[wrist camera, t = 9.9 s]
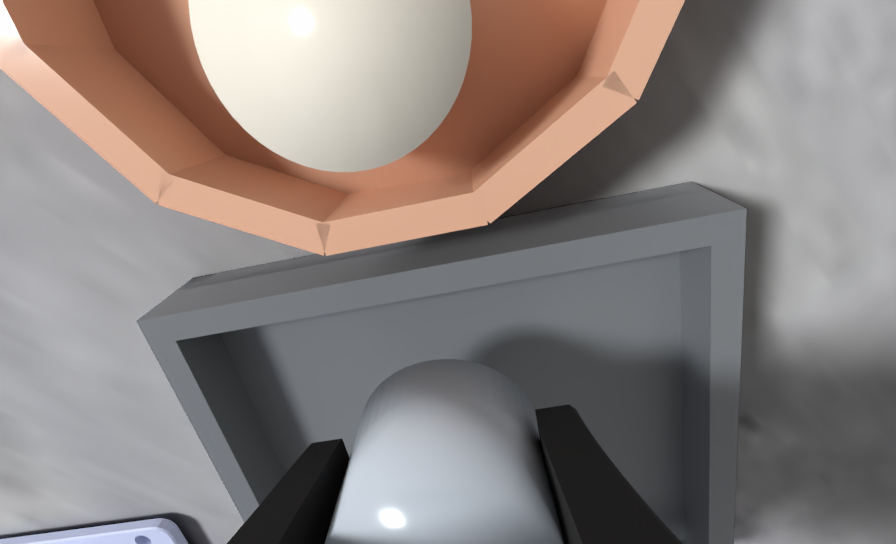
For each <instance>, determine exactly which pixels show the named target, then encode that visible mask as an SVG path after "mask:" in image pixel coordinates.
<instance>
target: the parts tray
mask: <svg viewBox="0 0 896 544" xmlns="http://www.w3.org/2000/svg"><path fill="white" fill-rule="evenodd" d="M746 216H747V208H745V207H743V206H741V205H739V204H737V203H735V202H732V201H730V200H728V199H726V198H724V197H722V196H720V195H718V194H716V193H714V192H712V191H710V190H708V189H706V188H704V187H701V186H699V185H697V184H695V183H693V182H687V183H681V184H676V185H671V186H666V187H661V188H656V189H650V190H645V191H640V192H635V193H630V194H624V195H619V196H614V197H609V198H604V199H599V200H593V201H588V202H583V203H578V204H573V205H567V206H562V207H557V208H552V209H547V210H542V211H536V212H531V213H526V214H521V215H516V216H510V217H505V218H500V219H495V220H494V221H493V222H492V223H491V224H490V223H489V222H488V221H487V222H488V225H485V226H479V227H474V228H469V229H464V230H458V231H453V232H448V233H443V234H438V235H432V236H427V237H422V238H417V239H412V240H406V241H401V242H396V243H391V244H386V245H380V246H375V247H370V248H365V249H360V250H354V251H349V252H344V253H339V254H334V255H328V256H326V254H324V256H323V255H319V254H314V255H308V256H303V257H298V258H293V259H288V260H282V261H277V262H272V263H267V264H262V265H257V266H251V267H246V268H241V269H236V270H231V271H225V272H220V273H215V274H210V275H205V276H200V277H194V278H192V279H191V280H190V281H188V282H187V283H186V284H184V285H183V286H182V287H181V288H179V289H178V290H177V291H175V292H174V293H173V294H171V295H170V296H169V297H167V298H166V299H165V300H163V301H162V302H161V303H160V304H158V305H157V306H156V307H154V308H153V309H152V310H150V311H149V312H148V313H146V314H145V315H144V316H142V317H141V318H140V319H139V320H137V323H138V325H139V327H140V329H141V330H142V332H143V334H144V336H145V338H146V340H147V342H148V344H149V345H150V347H151V349H152V351H153V353H154V355H155V357H156V358H157V360H158V362H159V364H160V366H161V368H162V370H163V371H164V373H165V375H166V377H167V379H168V381H169V383H170V384H171V386H172V388H173V390H174V392H175V394H176V396H177V398H178V399H179V401H180V403H181V405H182V407H183V409H184V411H185V412H186V414H187V416H188V418H189V420H190V422H191V424H192V425H193V427H194V429H195V431H196V433H197V435H198V437H199V439H200V440H201V442H202V444H203V446H204V448H205V450H206V452H207V453H208V455H209V457H210V459H211V461H212V463H213V465H214V466H215V468H216V470H217V472H218V474H219V476H220V478H221V480H222V481H223V483H224V485H225V487H226V489H227V491H228V493H229V494H230V496H231V498H232V500H233V502H234V504H235V506H236V507H237V509H238V511H239V513H240V515H241V517H242V519H243V521H244V522H246V521H247V519H248V518H249V517H250V516H251V515H252V514H253V512H254V511H255V510H256V509H257V508H258V506H259V505H260V504H261V503H262V502H263V500H264V499H265V498H266V497H267V496H268V494H269V493H270V492H271V491H272V490H273V488H274V487H275V486H276V485H277V483H278V482H279V481H280V480H281V479H282V477H283V476H284V475H285V474H286V473H287V471H288V470H289V469H290V468H291V466H292V465H293V464H294V463H295V462H296V461H297V459H298V458H299V457H300V456H301V455H302V453H303V452H304V451H305V450H306V449H307V448H308V447H309V445H310V444H311V443H315V442H322V441H328V440H335V439H343V442H344V444H345V447H346V450H347V452H348V455H349V458H350V455H351V451H352V448H353V444H354V441H355V438H356V434H357V431H358V427H359V424H360V420H361V417H362V413H363V410H364V408H365V405H366V403H367V401H368V399H369V397H370V396H371V394H372V393H373V392H374V390H375V389H376V388H377V387H378V386H379V385H380V384H381V383H382V382H383V381H384V380H385V379H386V378H388V377H389V376H391V375H392V374H394V373H395V372H397V371H399V370H401V369H403V368H405V367H408V366H411V365H413V364H416V363H420V362H424V361H429V360H438V359H457V360H466V361H471V362H475V363H479V364H482V365H485V366H487V367H490V368H492V369H494V370H496V371H498V372H500V373H502V374H503V375H505V376H506V377H508V378H509V379H511V380H512V381H513V382H514V383H515V384H516V385H518V386H519V387H520V389H521V390H522V391H523V392H524V393H525V394H526V396H527V397H528V399H529V401H530V402H531V404H532V406H533V409H534V411H535V409H542V408H548V407H555V406H562V405H568V404H569V405H571V406H572V407H574V408H575V409H576V410H577V412H578V414H579V415H580V417H581V419H582V420H583V422H584V423H585V425H586V426H587V428H588V429H589V431H590V432H591V434H592V435H593V437H594V438H595V439H596V441H597V442H598V444H599V445H600V446H601V448H602V449H603V450H604V452H605V453H606V454H607V456H608V457H609V458H610V460H611V461H612V462H613V464H614V465H615V466H616V467H617V469H618V470H619V471H620V472H621V474H622V475H623V476H624V477H625V478H626V480H627V481H628V482H629V483H630V484H631V486H632V487H633V488H634V489H635V490H636V492H637V493H638V494H639V495H640V496H641V498H642V499H643V500H644V501H645V502H646V503H647V505H648V506H649V507H650V508H651V509H652V510H653V512H654V513H655V514H656V515H657V516H658V517H659V518H660V519H661V521H662V522H663V523H664V524H665V525H666V526H667V527H668V528H669V529H670V530H671V532H672V533H673V534H674V535H675V536H676V537H677V538H678V539H679V540H680V541H681V542H682V543H683V544H734V525H735V499H736V474H737V448H738V422H739V396H740V371H741V345H742V319H743V294H744V268H745V242H746ZM535 414H536V413H535Z"/></svg>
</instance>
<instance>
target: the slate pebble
mask: <svg viewBox="0 0 896 544" xmlns="http://www.w3.org/2000/svg"><path fill="white" fill-rule="evenodd" d="M325 544H564V541H563V536H562V532H561V527H560V523H559V518H558V514H557V510H556V506H555V501H554V497H553V494H552V490H551V487H550V483H549V478H548V474H547V469H546V464H545V460H544V455H543V451H542V446H541V441H540V436H539V430H538V424H537V419H536V414H535V411H534V409H533V406H532V404H531V402H530V401H529V399H528V397H527V396H526V394H525V393H524V392H523V391H522V390H521V389H520V387H519V386H518V385H516V384H515V383H514V382H513V381H512V380H511V379H509V378H508V377H506V376H505V375H503V374H502V373H500V372H498V371H496V370H494V369H492V368H490V367H487V366H485V365H482V364H479V363H475V362H471V361H466V360H457V359H438V360H429V361H424V362H420V363H416V364H413V365H411V366H408V367H405V368H403V369H401V370H399V371H397V372H395V373H394V374H392V375H391V376H389V377H388V378H386V379H385V380H384V381H383V382H382V383H381V384H380V385H379V386H378V387H377V388H376V389H375V390H374V392H373V393H372V394H371V396H370V397H369V399H368V401H367V403H366V405H365V408H364V410H363V413H362V417H361V420H360V424H359V427H358V431H357V434H356V438H355V441H354V444H353V448H352V451H351V455H350V458H349V462H348V465H347V468H346V472H345V475H344V479H343V482H342V486H341V489H340V492H339V496H338V499H337V503H336V506H335V510H334V513H333V517H332V520H331V523H330V527H329V530H328V534H327V537H326V541H325Z"/></svg>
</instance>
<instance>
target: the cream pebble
mask: <svg viewBox="0 0 896 544" xmlns="http://www.w3.org/2000/svg"><path fill="white" fill-rule="evenodd" d="M188 3H189V13H190V24H191V29H192V33H193V38H194V43H195V46H196V49H197V52H198V56H199V59H200V62H201V64H202V67H203V69H204V71H205V73H206V76H207V78H208V80H209V82H210V84H211V86H212V87H213V89H214V91H215V92H216V94H217V96H218V98H219V99H220V101H221V102H222V103H223V105H224V106H225V107H226V109H227V110H228V112H229V113H230V114H231V116H232V117H233V118H234V119H235V120H236V121H237V122H238V123H239V124H240V125H241V126H242V127H243V129H244V130H246V131H247V132H248V133H249V134H250V135H251V136H252V137H254V138H255V139H256V140H257V141H258V142H260V143H261V144H263V145H264V146H266V147H267V148H268V149H270V150H271V151H273V152H275V153H276V154H278V155H280V156H282V157H284V158H286V159H288V160H290V161H293V162H295V163H298V164H300V165H303V166H306V167H310V168H314V169H318V170H323V171H332V172H357V171H364V170H370V169H374V168H377V167H381V166H384V165H387V164H389V163H391V162H393V161H396V160H398V159H400V158H402V157H403V156H405V155H407V154H408V153H410V152H411V151H413V150H415V149H416V148H417V147H418V146H419V145H421V144H422V143H423V142H424V141H425V140H427V139H428V138H429V137H430V136H431V134H432V133H433V132H434V131H435V130H436V129H437V128H438V127H439V126H440V124H441V123H442V121H443V120H444V118H445V117H446V116H447V114H448V113H449V111H450V109H451V108H452V106H453V104H454V102H455V100H456V98H457V96H458V94H459V91H460V88H461V86H462V83H463V80H464V78H465V74H466V70H467V66H468V62H469V57H470V48H471V40H472V14H471V6H470V0H189V1H188Z"/></svg>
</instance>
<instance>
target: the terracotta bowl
mask: <svg viewBox="0 0 896 544" xmlns="http://www.w3.org/2000/svg"><path fill="white" fill-rule="evenodd" d="M188 1H189V0H0V69H1V70H3V71H4V72H5V73H6V74H7V75H8V76H10V77H11V78H12V79H13V80H14V81H15V82H16V83H18V84H19V85H20V86H21V87H22V88H23V89H24V90H26V91H27V92H28V93H29V94H30V95H31V96H33V97H34V98H35V99H36V100H37V101H38V102H39V103H41V104H42V105H43V106H44V107H45V108H46V109H47V110H49V111H50V112H51V113H52V114H53V115H54V116H55V117H57V118H58V119H59V120H60V121H61V122H62V123H64V124H65V125H66V126H67V127H68V128H69V129H70V130H72V131H73V132H74V133H75V134H76V135H77V136H78V137H80V138H81V139H82V140H83V141H84V142H85V143H87V144H88V145H89V146H90V147H91V148H92V149H93V150H95V151H96V152H97V153H98V154H99V155H100V156H101V157H103V158H104V159H105V160H106V161H107V162H108V163H110V164H111V165H112V166H113V167H114V168H115V169H116V170H118V171H119V172H120V173H121V174H122V175H123V176H124V177H126V178H127V179H128V180H129V181H130V182H131V183H133V184H134V185H135V186H136V187H137V188H138V189H139V190H141V191H142V192H143V193H144V194H145V195H146V196H147V197H149V198H150V199H151V200H152V201H153V202H154V203H158V205H160V206H163V207H166V208H170V209H173V210H176V211H179V212H183V213H186V214H189V215H192V216H196V217H199V218H202V219H205V220H209V221H212V222H215V223H218V224H222V225H225V226H228V227H231V228H235V229H238V230H241V231H245V232H248V233H251V234H254V235H258V236H261V237H264V238H267V239H271V240H274V241H277V242H280V243H284V244H287V245H290V246H293V247H297V248H300V249H303V250H306V251H310V252H313V253H316V254H319V255H323V256H324V254H326V256H328V255H334V254H339V253H344V252H349V251H354V250H360V249H365V248H370V247H375V246H380V245H386V244H391V243H396V242H401V241H406V240H412V239H417V238H422V237H427V236H432V235H438V234H443V233H448V232H453V231H458V230H464V229H469V228H474V227H479V226H485V225H488V222H489V223H490V224H491V223H492V222H493V221H494V220H495V219H497V218H498V217H499V216H500V215H501V214H503V213H504V212H505V211H506V210H508V209H509V208H510V207H511V206H512V205H514V204H515V203H516V202H517V201H518V200H520V199H521V198H522V197H523V196H524V195H526V194H527V193H528V192H529V191H531V190H532V189H533V188H534V187H535V186H537V185H538V184H539V183H540V182H541V181H543V180H544V179H545V178H546V177H547V176H549V175H550V174H551V173H552V172H554V171H555V170H556V169H557V168H558V167H560V166H561V165H562V164H563V163H564V162H566V161H567V160H568V159H569V158H571V157H572V156H573V155H574V154H575V153H577V152H578V151H579V150H580V149H581V148H583V147H584V146H585V145H586V144H587V143H589V142H590V141H591V140H592V139H594V138H595V137H596V136H597V135H598V134H600V133H601V132H602V131H603V130H604V129H606V128H607V127H608V126H609V125H611V124H612V123H613V122H614V121H615V120H617V119H618V118H619V117H620V116H621V115H623V114H624V113H625V112H626V111H627V110H629V109H630V108H631V107H632V106H634V105H635V104H636V103H637V102H636V101H635V99H636V100H639V99H640V97H641V95H642V92H643V90H644V88H645V86H646V84H647V82H648V79H649V77H650V75H651V73H652V71H653V69H654V66H655V64H656V62H657V60H658V58H659V56H660V53H661V51H662V49H663V47H664V45H665V43H666V40H667V38H668V36H669V34H670V32H671V30H672V27H673V25H674V23H675V21H676V19H677V17H678V14H679V12H680V10H681V8H682V6H683V4H684V1H685V0H470V6H471V14H472V40H471V48H470V57H469V62H468V66H467V70H466V74H465V78H464V80H463V83H462V86H461V88H460V91H459V94H458V96H457V98H456V100H455V102H454V104H453V106H452V108H451V109H450V111H449V113H448V114H447V116H446V117H445V118H444V120H443V121H442V123H441V124H440V126H439V127H438V128H437V129H436V130H435V131H434V132H433V133H432V134H431V136H430V137H429V138H428V139H427V140H425V141H424V142H423V143H422V144H421V145H419V146H418V147H417V148H416V149H415V150H413V151H411V152H410V153H408V154H407V155H405V156H403V157H402V158H400V159H398V160H396V161H393V162H391V163H389V164H387V165H384V166H381V167H377V168H374V169H370V170H364V171H357V172H332V171H323V170H318V169H314V168H310V167H306V166H303V165H300V164H298V163H295V162H293V161H290V160H288V159H286V158H284V157H282V156H280V155H278V154H276V153H275V152H273V151H271V150H270V149H268V148H267V147H266V146H264V145H263V144H261V143H260V142H258V141H257V140H256V139H255V138H254V137H252V136H251V135H250V134H249V133H248V132H247V131H246V130H244V129H243V127H242V126H241V125H240V124H239V123H238V122H237V121H236V120H235V119H234V118H233V117H232V116H231V114H230V113H229V112H228V110H227V109H226V107H225V106H224V105H223V103H222V102H221V101H220V99H219V98H218V96H217V94H216V92H215V91H214V89H213V87H212V86H211V84H210V82H209V80H208V78H207V76H206V73H205V71H204V69H203V67H202V64H201V62H200V59H199V56H198V52H197V49H196V46H195V43H194V38H193V33H192V29H191V24H190V13H189V3H188ZM487 221H488V222H487Z"/></svg>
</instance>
